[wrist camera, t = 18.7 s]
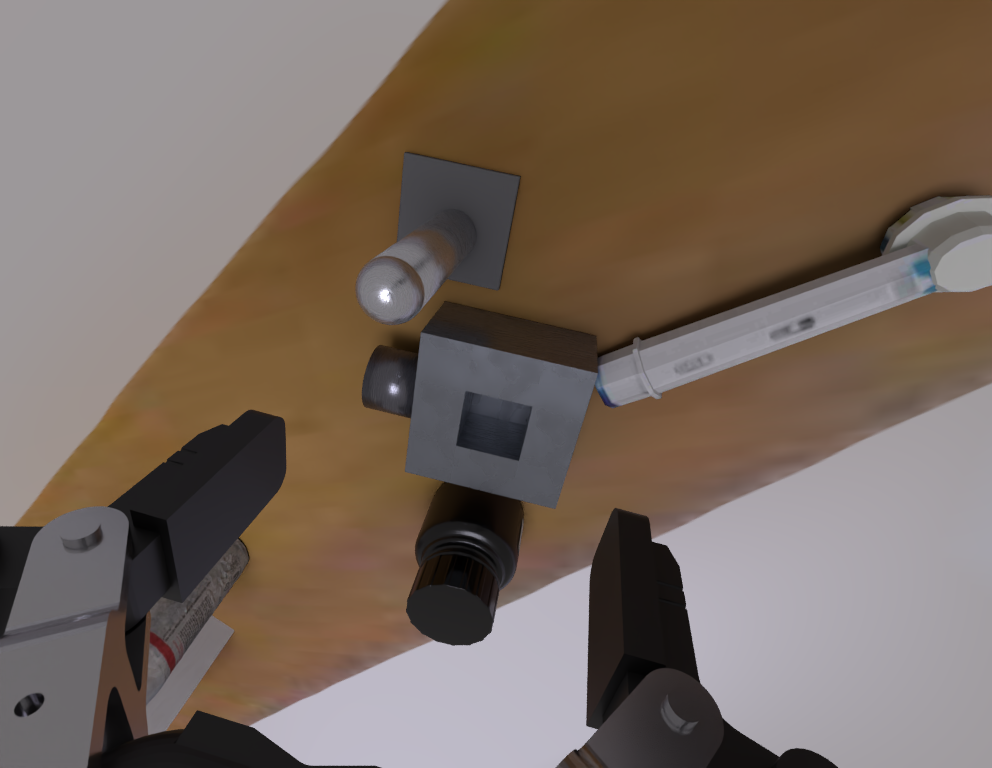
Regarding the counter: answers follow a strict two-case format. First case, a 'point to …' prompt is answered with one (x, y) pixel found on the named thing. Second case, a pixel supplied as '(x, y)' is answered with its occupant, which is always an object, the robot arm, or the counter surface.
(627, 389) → the white elongated piece
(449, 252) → the grey metal cylinder
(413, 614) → the ink bottle
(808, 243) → the counter surface
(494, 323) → the block
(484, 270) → the key rest mat
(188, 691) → the decorative block
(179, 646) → the spray can
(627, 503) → the counter surface
